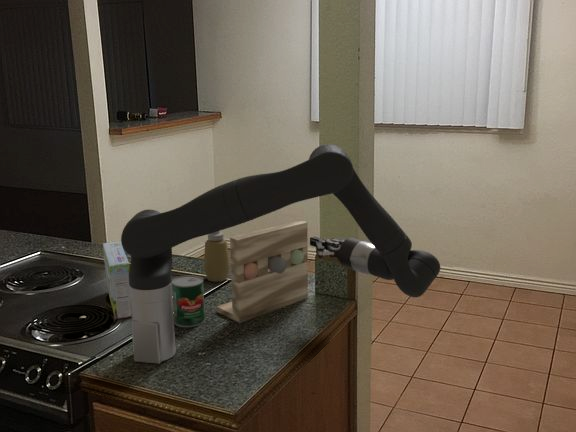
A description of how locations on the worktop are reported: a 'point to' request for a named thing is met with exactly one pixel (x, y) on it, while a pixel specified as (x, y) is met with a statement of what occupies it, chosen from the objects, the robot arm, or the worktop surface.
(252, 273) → the terracotta button
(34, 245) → the worktop surface
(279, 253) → the button panel
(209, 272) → the squeeze bottle
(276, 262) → the grey button
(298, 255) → the sage button
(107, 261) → the snack box
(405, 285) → the robot arm
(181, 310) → the canned tomato
